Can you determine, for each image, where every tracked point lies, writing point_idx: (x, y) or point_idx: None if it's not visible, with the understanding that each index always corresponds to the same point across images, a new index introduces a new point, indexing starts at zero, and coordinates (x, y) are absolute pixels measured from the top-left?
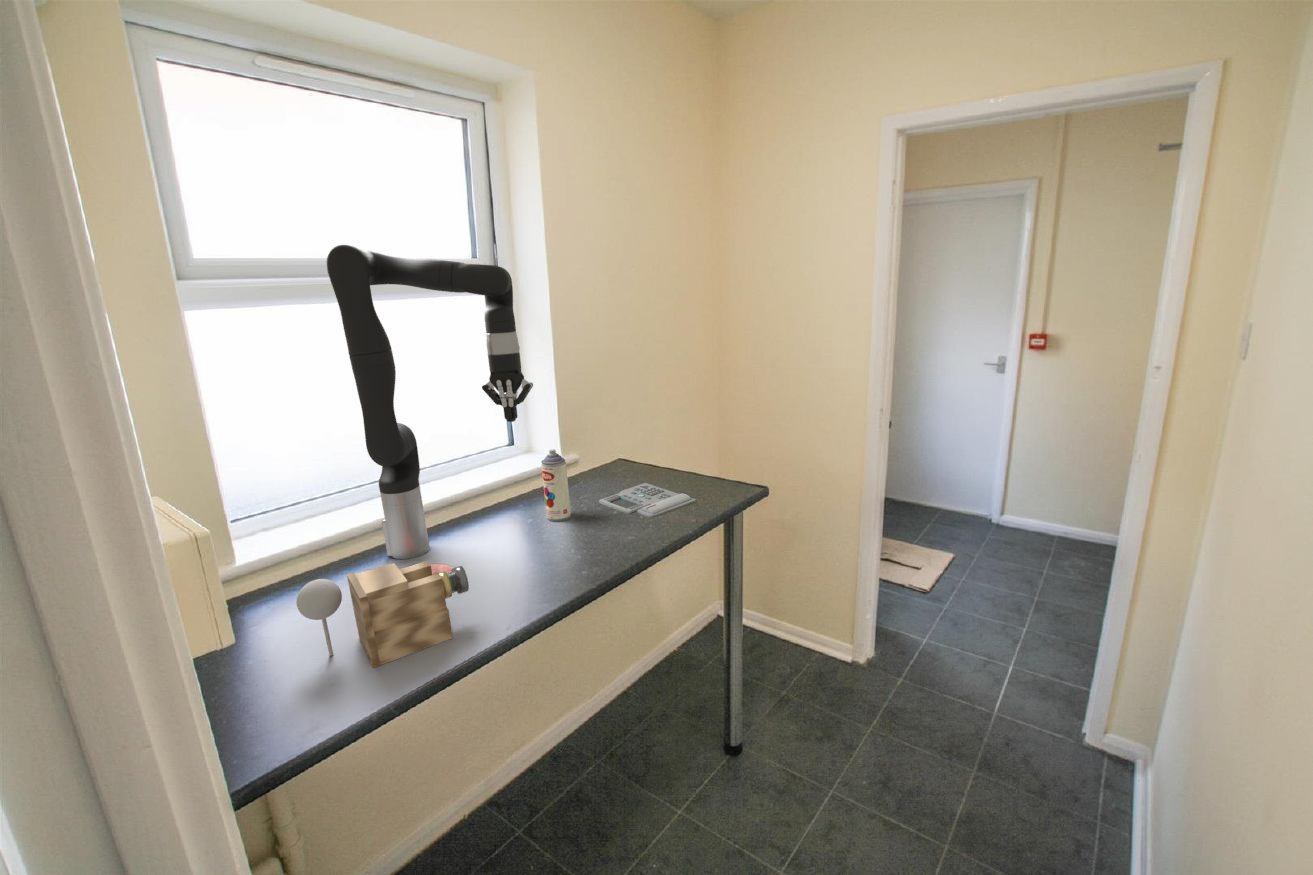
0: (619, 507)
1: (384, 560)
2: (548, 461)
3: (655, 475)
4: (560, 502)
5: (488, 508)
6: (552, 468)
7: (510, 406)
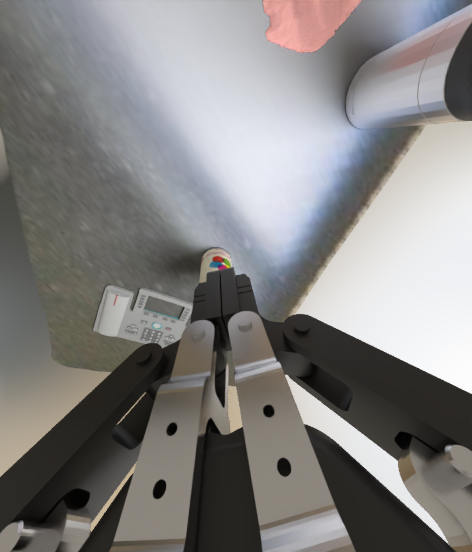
0: (158, 295)
1: None
2: None
3: None
4: (204, 263)
5: (318, 263)
6: None
7: (204, 322)
